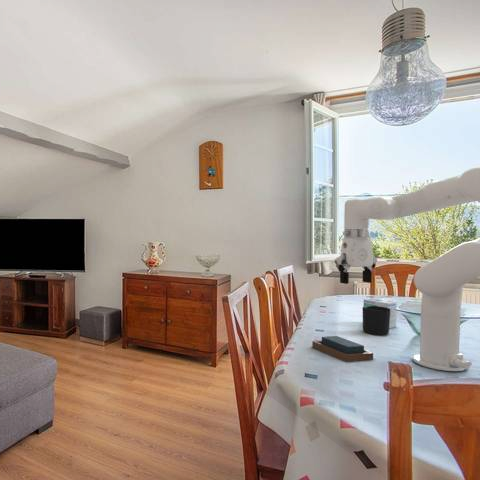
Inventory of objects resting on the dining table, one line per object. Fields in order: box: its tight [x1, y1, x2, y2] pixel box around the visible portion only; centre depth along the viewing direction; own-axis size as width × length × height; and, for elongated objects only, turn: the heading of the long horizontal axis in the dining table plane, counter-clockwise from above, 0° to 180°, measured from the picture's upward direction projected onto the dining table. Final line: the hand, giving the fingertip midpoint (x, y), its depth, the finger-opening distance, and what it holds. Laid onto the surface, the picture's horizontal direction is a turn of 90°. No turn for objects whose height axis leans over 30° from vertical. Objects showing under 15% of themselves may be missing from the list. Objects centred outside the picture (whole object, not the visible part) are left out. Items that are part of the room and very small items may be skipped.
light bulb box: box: [362, 297, 398, 329], centre depth 173 cm, size 11×7×11 cm, turn 25°
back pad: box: [321, 335, 365, 354], centre depth 135 cm, size 12×6×4 cm, turn 13°
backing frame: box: [311, 340, 374, 363], centre depth 135 cm, size 16×10×2 cm, turn 13°
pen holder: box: [362, 306, 390, 336], centre depth 160 cm, size 9×9×10 cm
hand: (355, 282), depth 141 cm, fingers open, 9 cm apart
